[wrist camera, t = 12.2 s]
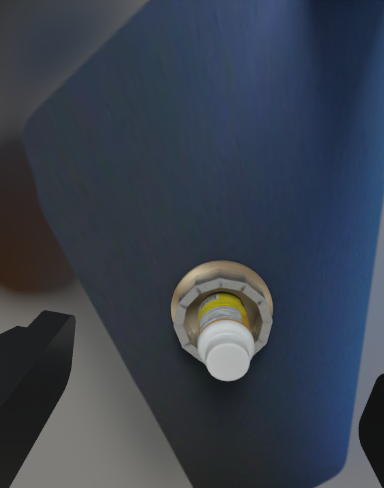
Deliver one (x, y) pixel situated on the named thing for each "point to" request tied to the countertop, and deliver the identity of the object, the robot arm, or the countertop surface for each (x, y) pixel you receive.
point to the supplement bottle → (224, 336)
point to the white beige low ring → (223, 280)
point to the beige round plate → (229, 265)
